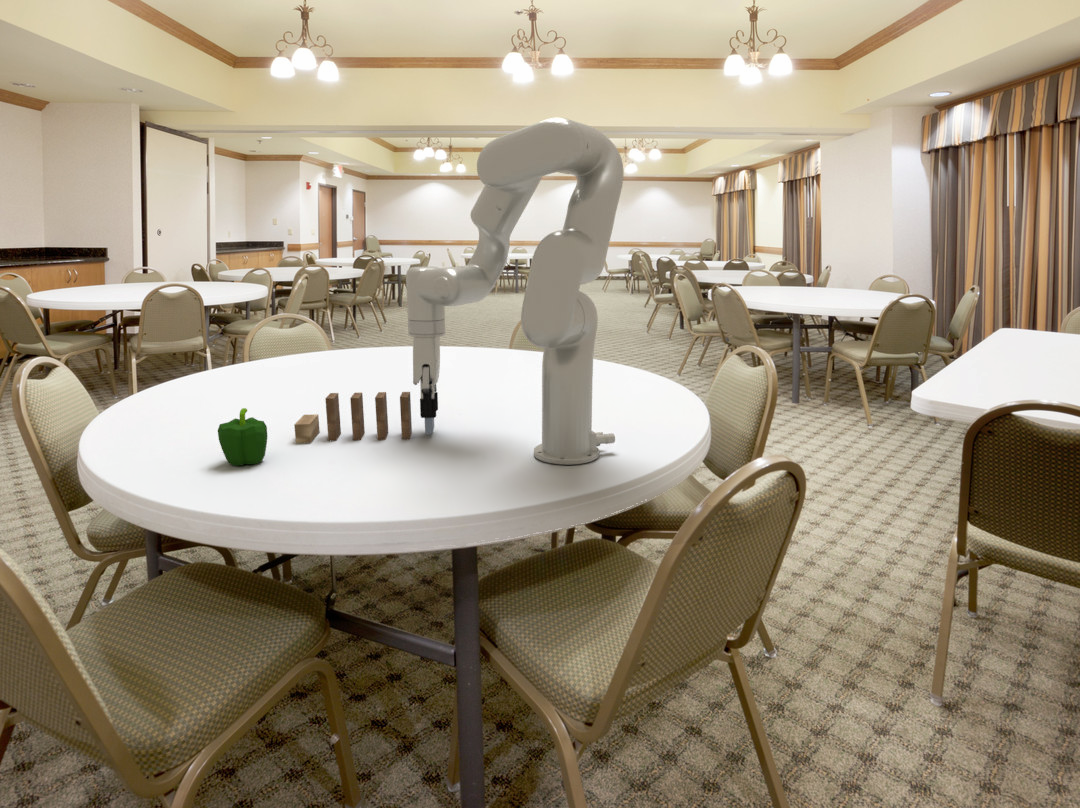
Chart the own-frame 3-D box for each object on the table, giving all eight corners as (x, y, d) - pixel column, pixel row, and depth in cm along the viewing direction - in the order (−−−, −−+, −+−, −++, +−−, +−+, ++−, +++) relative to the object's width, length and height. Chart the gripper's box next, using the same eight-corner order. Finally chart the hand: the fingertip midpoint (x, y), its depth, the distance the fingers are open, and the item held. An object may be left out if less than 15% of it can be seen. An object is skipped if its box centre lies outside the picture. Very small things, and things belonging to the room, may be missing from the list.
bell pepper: (253, 471, 128) (248, 417, 125) (213, 468, 129) (206, 415, 127) (279, 457, 136) (274, 406, 133) (240, 454, 137) (235, 404, 135)
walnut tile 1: (411, 432, 153) (410, 391, 150) (409, 439, 148) (407, 397, 146) (404, 432, 152) (402, 391, 150) (401, 439, 148) (399, 397, 145)
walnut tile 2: (388, 432, 152) (386, 392, 150) (385, 439, 147) (382, 397, 145) (380, 433, 152) (378, 392, 150) (377, 439, 147) (375, 397, 145)
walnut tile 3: (364, 433, 152) (362, 392, 150) (360, 440, 147) (358, 397, 145) (357, 433, 152) (354, 392, 150) (353, 440, 147) (350, 398, 145)
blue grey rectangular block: (434, 426, 153) (433, 386, 151) (432, 433, 148) (431, 391, 146) (426, 426, 153) (425, 386, 150) (425, 433, 148) (423, 391, 146)
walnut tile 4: (341, 434, 151) (338, 392, 149) (336, 440, 147) (333, 398, 144) (333, 434, 151) (330, 393, 149) (328, 440, 146) (325, 398, 144)
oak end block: (319, 432, 152) (318, 414, 152) (310, 443, 145) (309, 424, 144) (305, 432, 152) (303, 414, 151) (295, 443, 144) (294, 424, 144)
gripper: (412, 322, 153) (415, 404, 157) (403, 334, 137) (407, 425, 141) (447, 322, 154) (449, 404, 158) (442, 333, 137) (445, 424, 141)
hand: (429, 413), depth 149 cm, fingers closed on blue grey rectangular block, 4 cm apart
